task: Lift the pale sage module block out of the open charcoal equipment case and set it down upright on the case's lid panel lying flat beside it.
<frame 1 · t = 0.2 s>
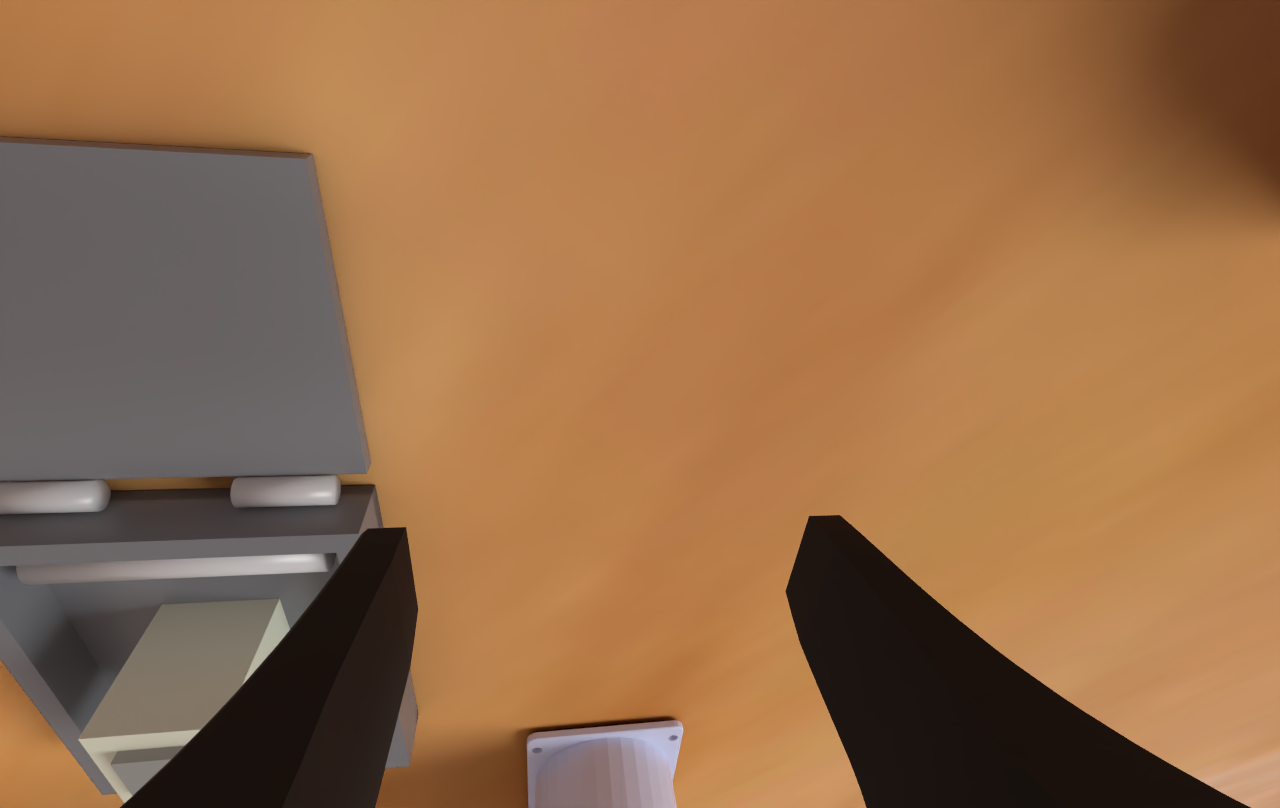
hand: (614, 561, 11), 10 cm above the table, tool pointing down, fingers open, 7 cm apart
lid panel: (121, 327, 18), on the table
module: (235, 636, 24), resting on case
case: (241, 625, 25), on the table
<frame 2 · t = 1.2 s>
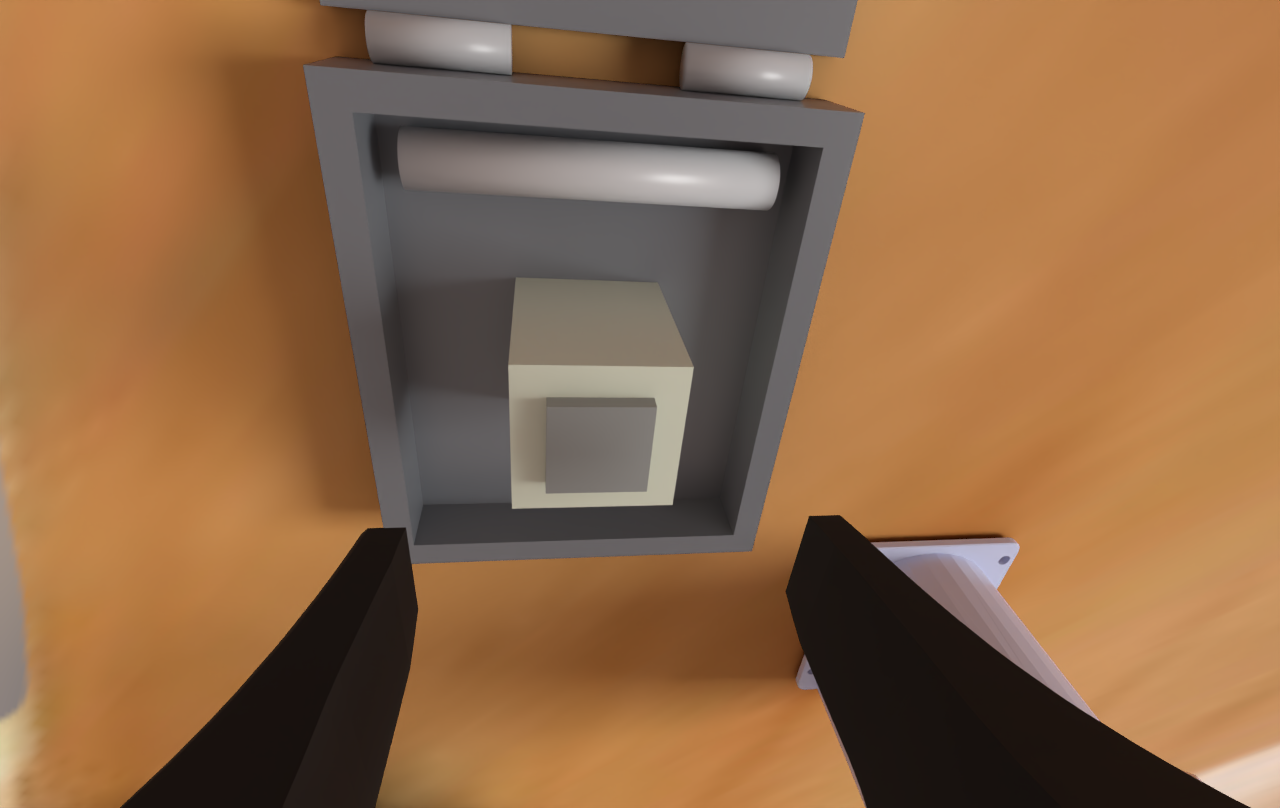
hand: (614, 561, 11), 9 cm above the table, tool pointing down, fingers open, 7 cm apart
module: (584, 343, 19), resting on case
case: (583, 336, 19), on the table
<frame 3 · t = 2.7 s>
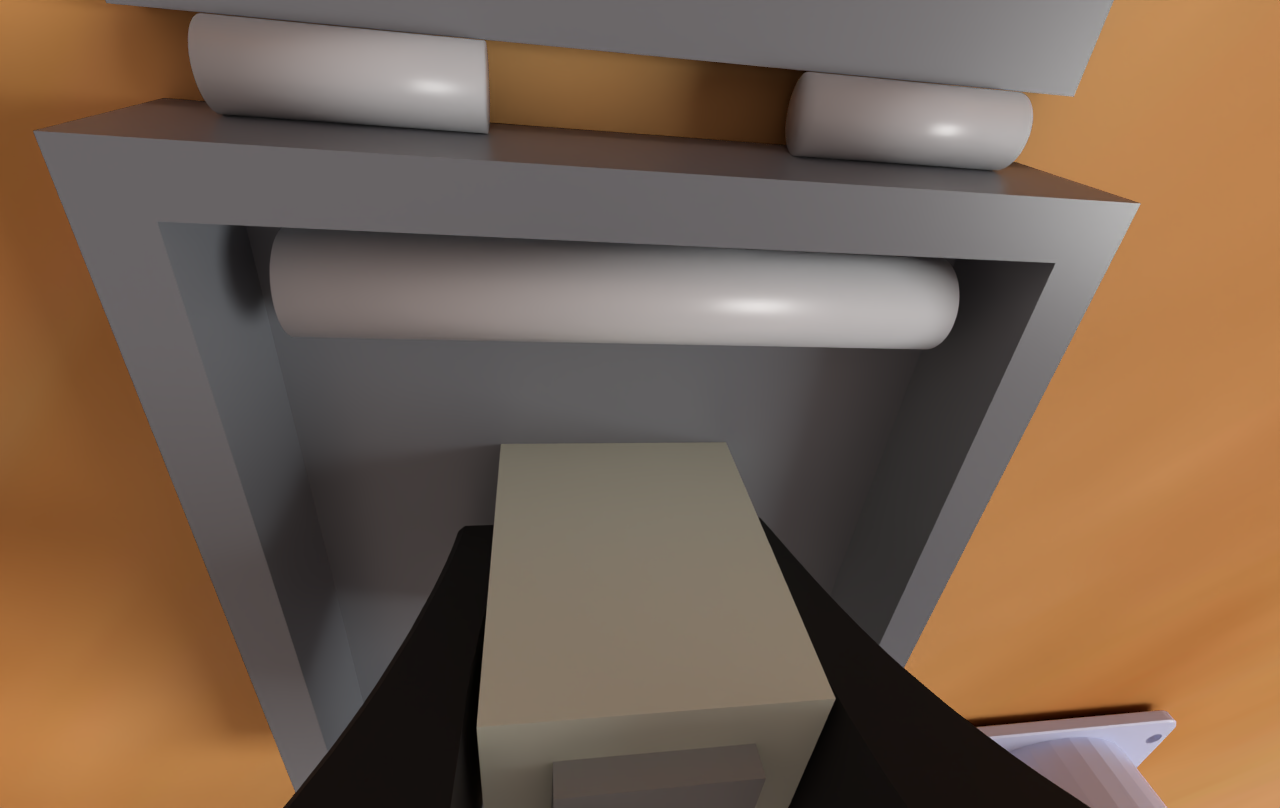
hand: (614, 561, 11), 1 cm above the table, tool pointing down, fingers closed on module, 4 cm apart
module: (609, 526, 12), resting on case, touching gripper
case: (607, 509, 12), on the table
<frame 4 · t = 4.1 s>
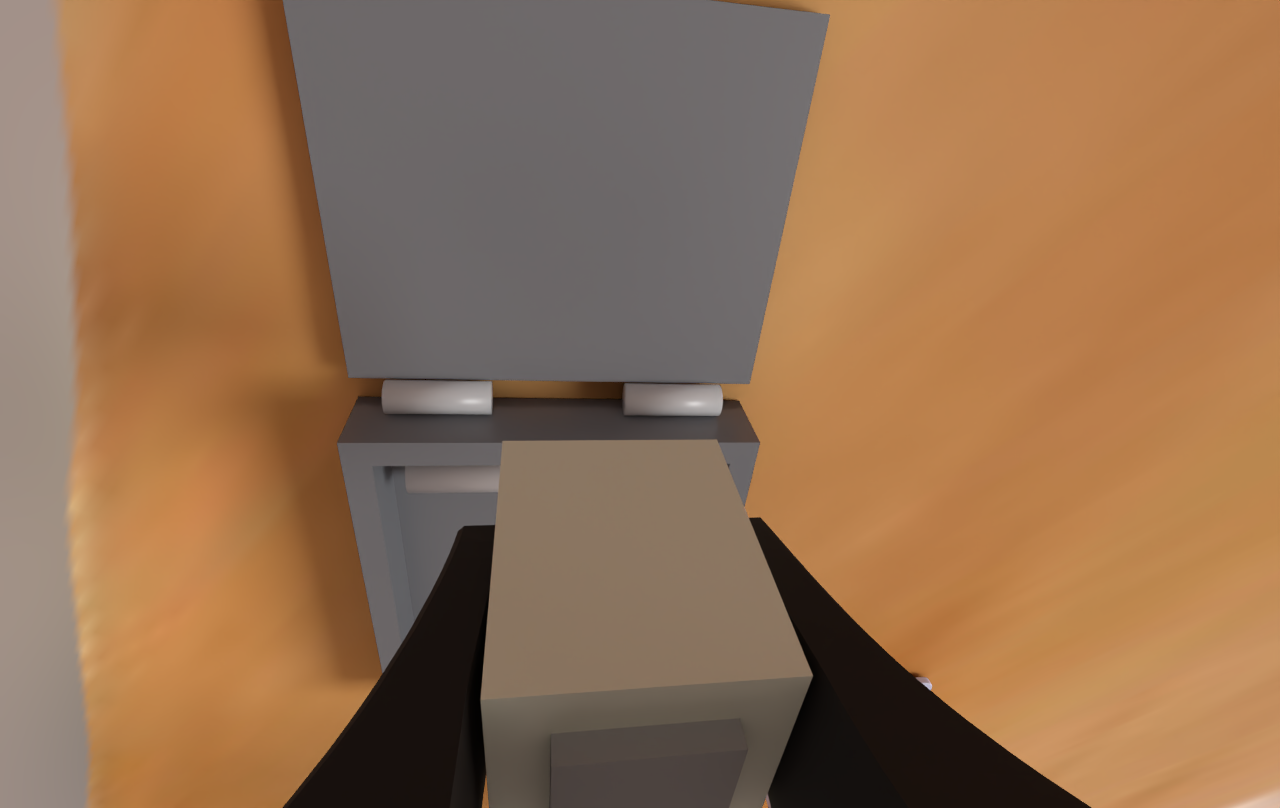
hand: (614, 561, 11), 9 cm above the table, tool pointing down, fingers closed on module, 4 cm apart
lid panel: (564, 208, 17), on the table
module: (606, 520, 13), point 8 cm above the table, touching gripper
case: (553, 556, 23), on the table
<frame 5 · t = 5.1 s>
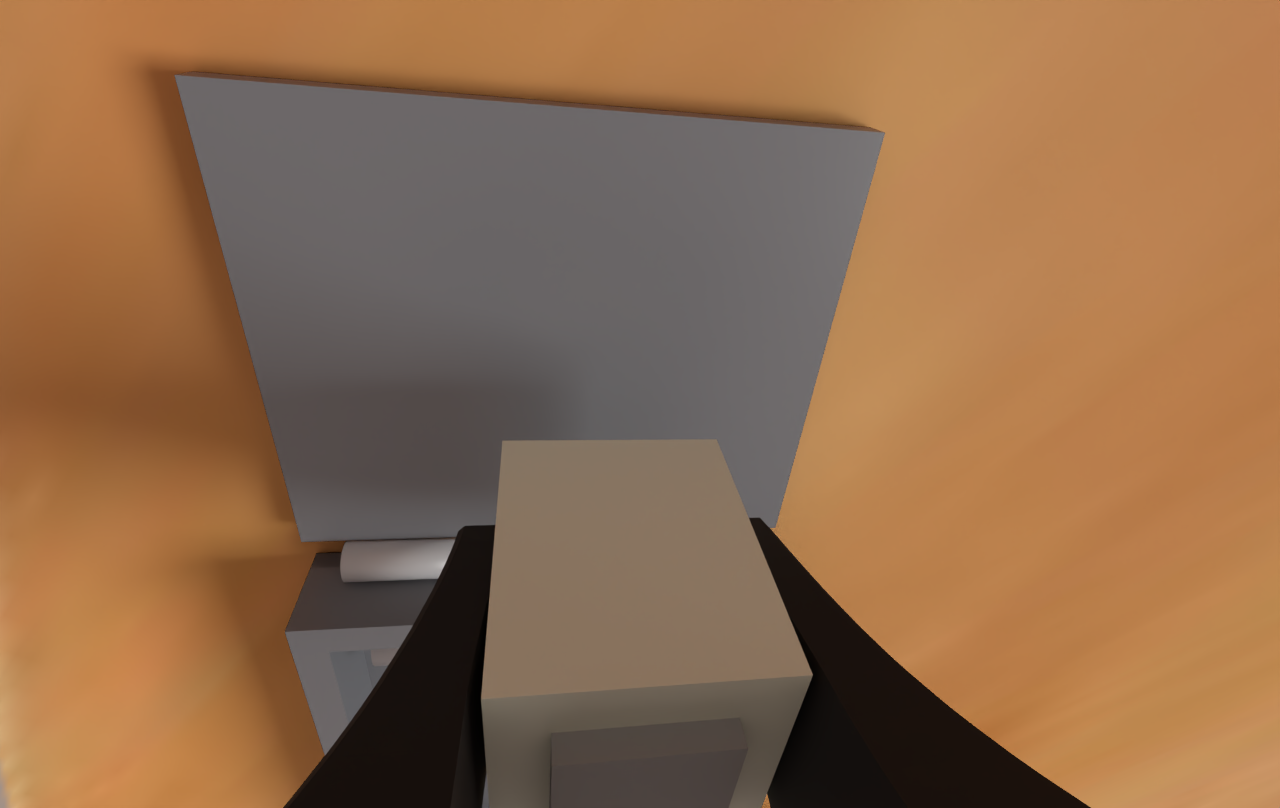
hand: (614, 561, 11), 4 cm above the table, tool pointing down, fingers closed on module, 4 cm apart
lid panel: (556, 349, 14), on the table
module: (605, 520, 13), point 3 cm above the table, touching gripper
case: (548, 697, 21), on the table
when the fingers open (3 cm above the table, at t = 5.9 s): module stays where it is, resting on lid panel.
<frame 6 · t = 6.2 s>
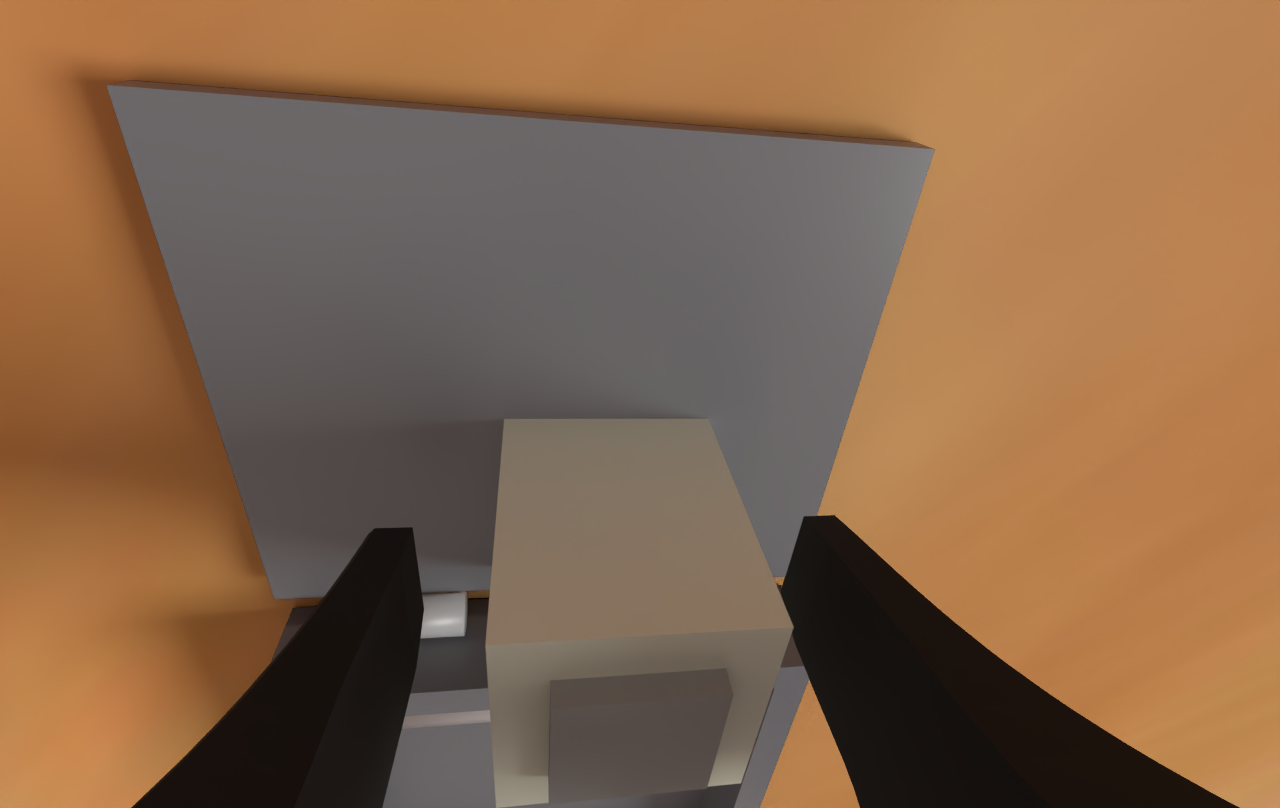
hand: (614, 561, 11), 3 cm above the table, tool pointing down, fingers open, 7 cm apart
lid panel: (557, 389, 12), on the table
module: (602, 497, 13), point 1 cm above the table, touching lid panel
case: (548, 749, 19), on the table
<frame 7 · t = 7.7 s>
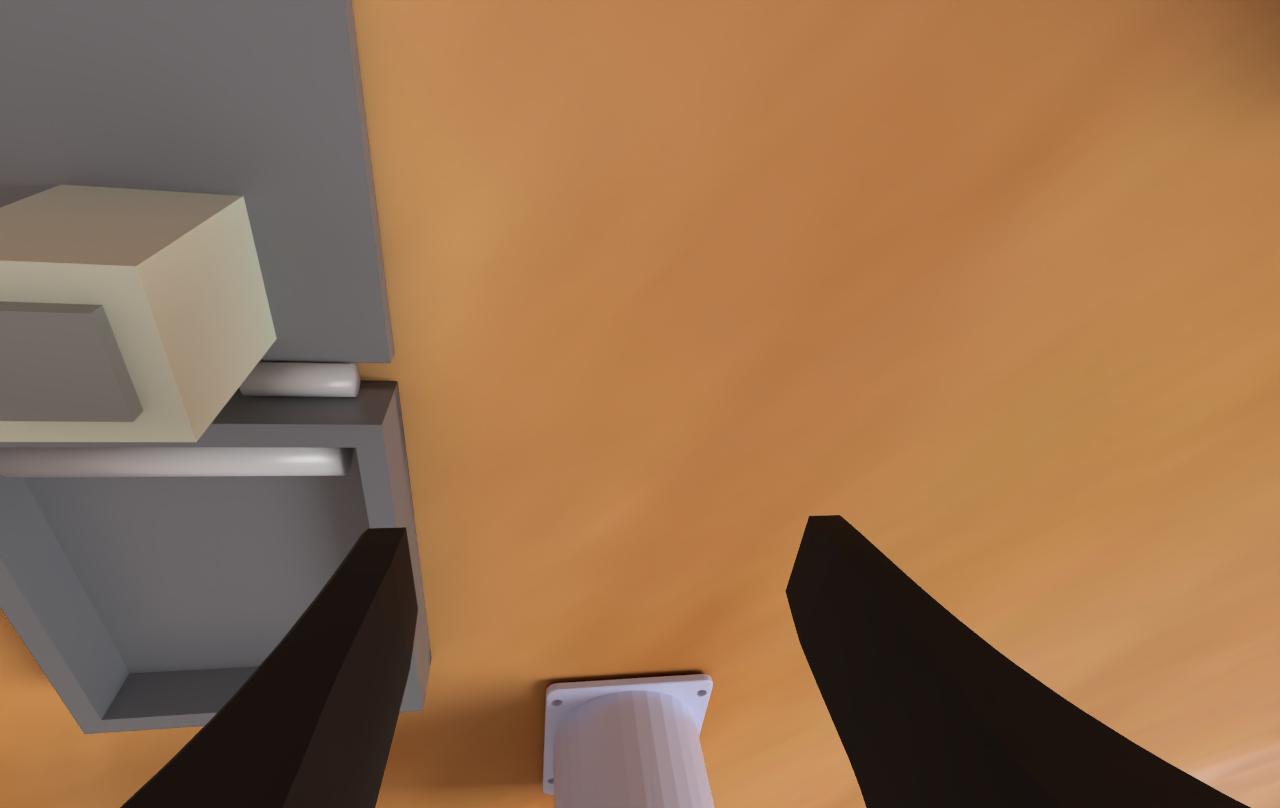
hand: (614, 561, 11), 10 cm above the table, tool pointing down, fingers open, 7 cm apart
lid panel: (118, 169, 15), on the table
module: (178, 268, 16), point 1 cm above the table, touching lid panel
case: (242, 546, 22), on the table
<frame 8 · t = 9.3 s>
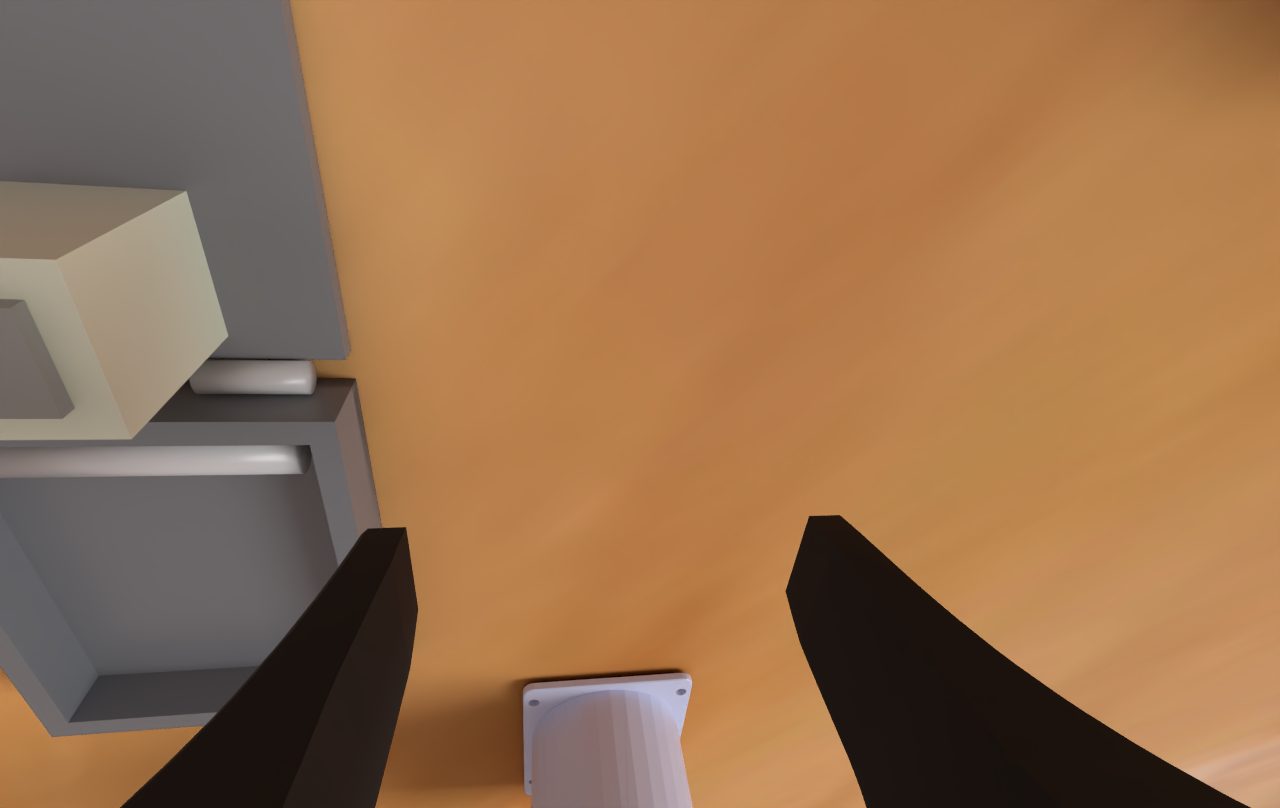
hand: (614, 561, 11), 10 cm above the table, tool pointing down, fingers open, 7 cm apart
lid panel: (59, 165, 15), on the table
module: (124, 265, 16), point 1 cm above the table, touching lid panel
case: (207, 546, 22), on the table
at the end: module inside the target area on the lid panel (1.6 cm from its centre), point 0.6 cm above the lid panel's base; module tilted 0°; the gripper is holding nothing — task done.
